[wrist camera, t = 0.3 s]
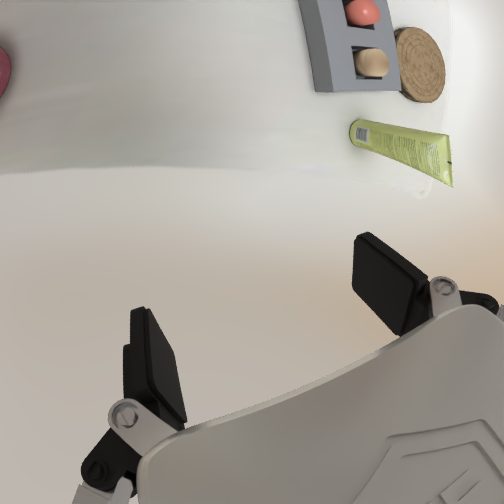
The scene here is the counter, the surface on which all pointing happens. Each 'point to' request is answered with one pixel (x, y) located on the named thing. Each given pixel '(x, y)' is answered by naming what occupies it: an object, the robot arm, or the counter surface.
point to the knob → (370, 62)
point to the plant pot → (4, 71)
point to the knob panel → (347, 47)
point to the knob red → (361, 13)
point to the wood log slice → (419, 65)
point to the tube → (407, 147)
